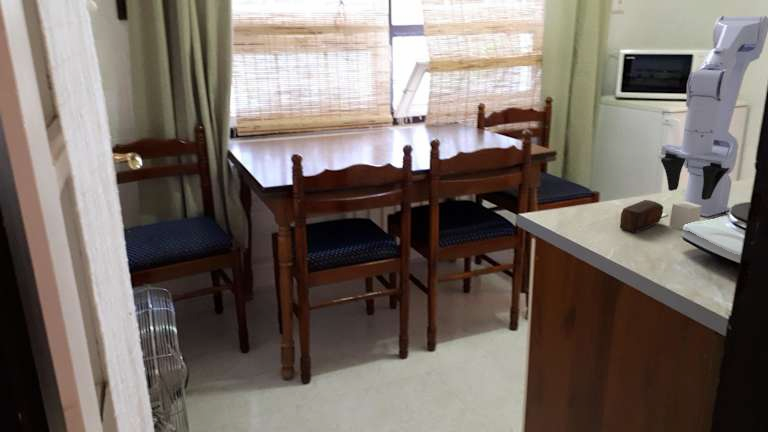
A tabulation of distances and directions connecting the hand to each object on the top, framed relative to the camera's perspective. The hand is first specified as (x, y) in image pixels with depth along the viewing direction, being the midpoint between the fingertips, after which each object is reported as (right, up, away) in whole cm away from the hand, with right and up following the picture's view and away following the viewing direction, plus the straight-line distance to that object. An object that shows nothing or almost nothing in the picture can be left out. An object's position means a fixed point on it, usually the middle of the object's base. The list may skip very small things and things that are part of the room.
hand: (688, 194), depth 124 cm
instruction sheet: (-5, -5, +9) cm, 12 cm away
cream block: (0, -7, +2) cm, 7 cm away
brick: (-9, -7, +3) cm, 12 cm away
